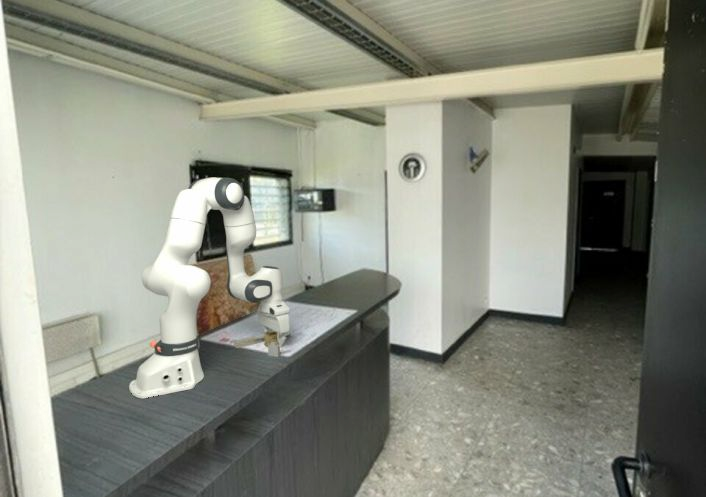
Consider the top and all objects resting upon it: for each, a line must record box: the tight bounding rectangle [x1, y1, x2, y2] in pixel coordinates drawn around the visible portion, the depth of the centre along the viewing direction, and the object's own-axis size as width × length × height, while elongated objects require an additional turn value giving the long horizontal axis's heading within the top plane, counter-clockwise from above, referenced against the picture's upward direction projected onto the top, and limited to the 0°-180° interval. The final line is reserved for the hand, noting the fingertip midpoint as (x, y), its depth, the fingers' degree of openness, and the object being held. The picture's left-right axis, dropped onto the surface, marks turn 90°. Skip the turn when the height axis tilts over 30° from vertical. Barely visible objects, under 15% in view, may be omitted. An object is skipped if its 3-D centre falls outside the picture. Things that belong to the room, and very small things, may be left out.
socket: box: [263, 330, 279, 348], centre depth 174 cm, size 5×5×5 cm
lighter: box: [267, 336, 287, 358], centre depth 163 cm, size 7×2×8 cm, turn 74°
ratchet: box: [233, 329, 292, 349], centre depth 180 cm, size 25×7×6 cm, turn 129°
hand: (273, 338), depth 175 cm, fingers open, 8 cm apart
